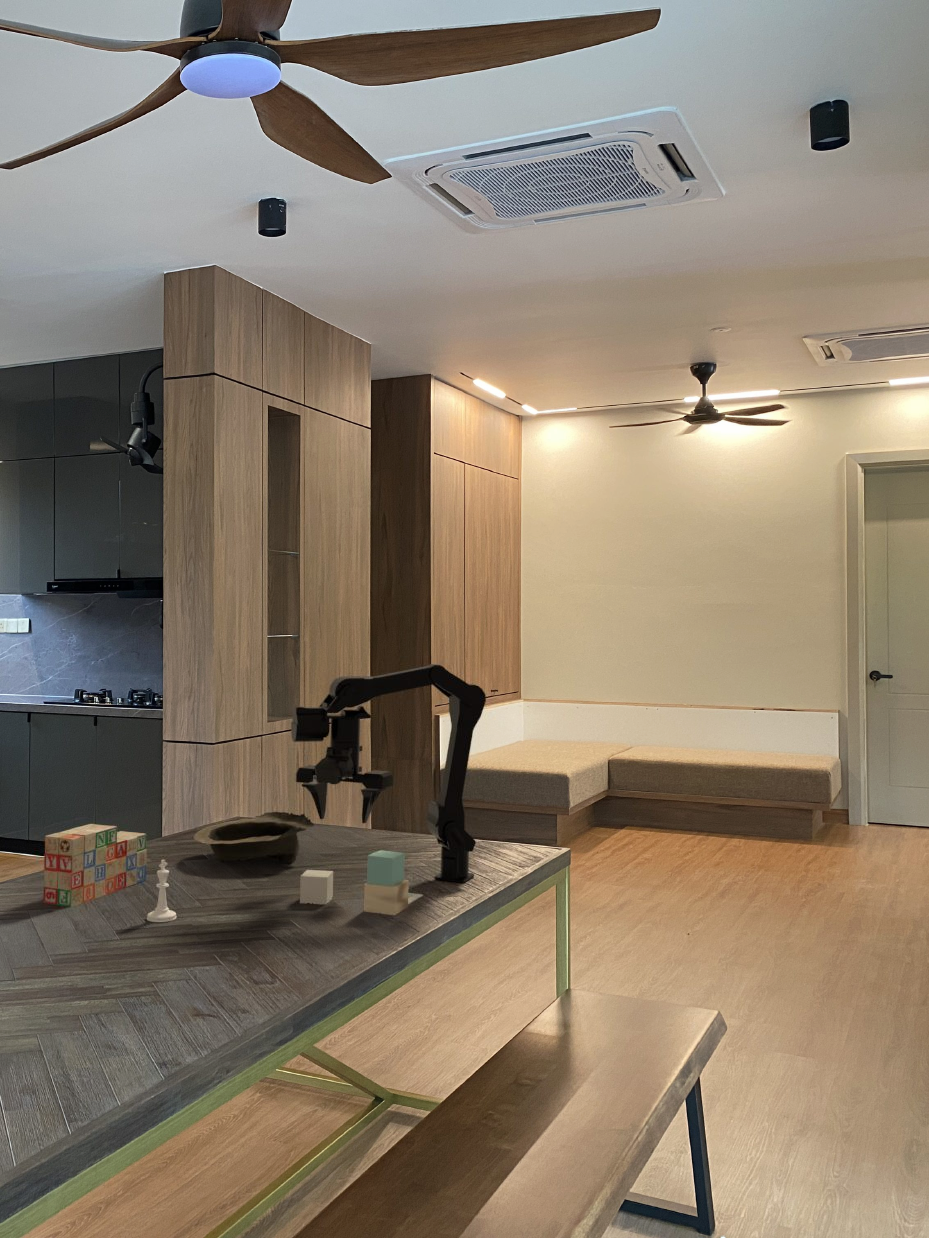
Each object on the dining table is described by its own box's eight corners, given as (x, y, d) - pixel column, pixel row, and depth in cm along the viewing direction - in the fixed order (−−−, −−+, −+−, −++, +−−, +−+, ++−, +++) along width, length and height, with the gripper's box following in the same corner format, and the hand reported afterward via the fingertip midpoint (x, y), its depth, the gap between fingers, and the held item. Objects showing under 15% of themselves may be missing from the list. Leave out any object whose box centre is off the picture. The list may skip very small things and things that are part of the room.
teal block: (379, 877, 195) (380, 850, 195) (404, 880, 193) (404, 853, 193) (366, 883, 191) (367, 855, 191) (391, 886, 189) (392, 858, 189)
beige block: (306, 896, 199) (307, 869, 200) (332, 897, 199) (333, 871, 199) (299, 903, 194) (300, 876, 195) (326, 904, 194) (327, 877, 194)
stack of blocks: (120, 877, 210) (121, 815, 210) (146, 881, 208) (148, 818, 208) (42, 903, 190) (44, 834, 190) (71, 907, 188) (72, 837, 188)
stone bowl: (334, 856, 233) (333, 814, 232) (254, 887, 212) (253, 841, 211) (251, 839, 246) (250, 800, 245) (168, 867, 225) (167, 824, 224)
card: (389, 891, 204) (389, 889, 204) (422, 895, 202) (422, 893, 202) (373, 900, 198) (373, 897, 198) (408, 904, 195) (408, 902, 195)
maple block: (377, 903, 196) (378, 876, 196) (407, 907, 194) (408, 879, 194) (364, 911, 190) (364, 883, 190) (394, 915, 188) (395, 887, 188)
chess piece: (182, 916, 184) (183, 858, 184) (165, 923, 179) (167, 864, 179) (158, 913, 186) (159, 855, 186) (140, 920, 181) (142, 861, 181)
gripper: (282, 742, 204) (280, 823, 204) (370, 748, 198) (368, 832, 198) (310, 736, 215) (308, 814, 215) (395, 742, 208) (393, 822, 208)
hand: (343, 820), depth 208 cm, fingers open, 9 cm apart
